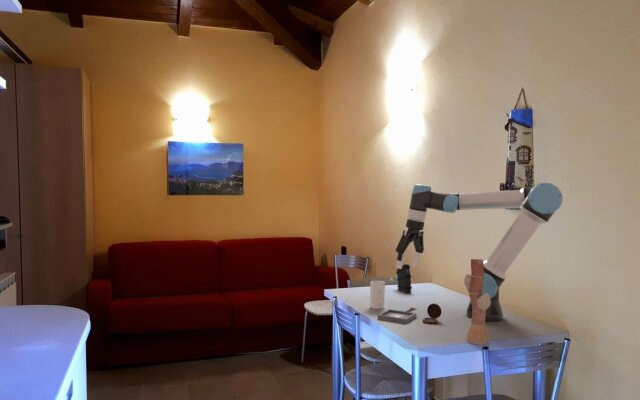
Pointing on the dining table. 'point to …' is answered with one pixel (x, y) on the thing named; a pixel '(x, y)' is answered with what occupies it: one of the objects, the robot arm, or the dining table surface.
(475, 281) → the brown tall piece
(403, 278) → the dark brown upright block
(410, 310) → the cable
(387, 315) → the grey square tray
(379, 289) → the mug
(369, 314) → the dining table surface
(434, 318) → the compass
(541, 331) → the dining table surface
